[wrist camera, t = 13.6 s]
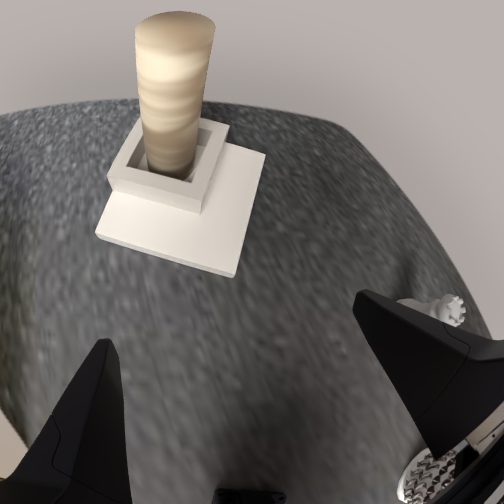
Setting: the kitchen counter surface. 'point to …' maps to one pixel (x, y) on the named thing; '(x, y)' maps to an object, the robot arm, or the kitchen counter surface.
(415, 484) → the decorative candle
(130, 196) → the socket base
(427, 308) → the rook chess piece
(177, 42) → the birch post
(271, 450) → the kitchen counter surface
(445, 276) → the kitchen counter surface
